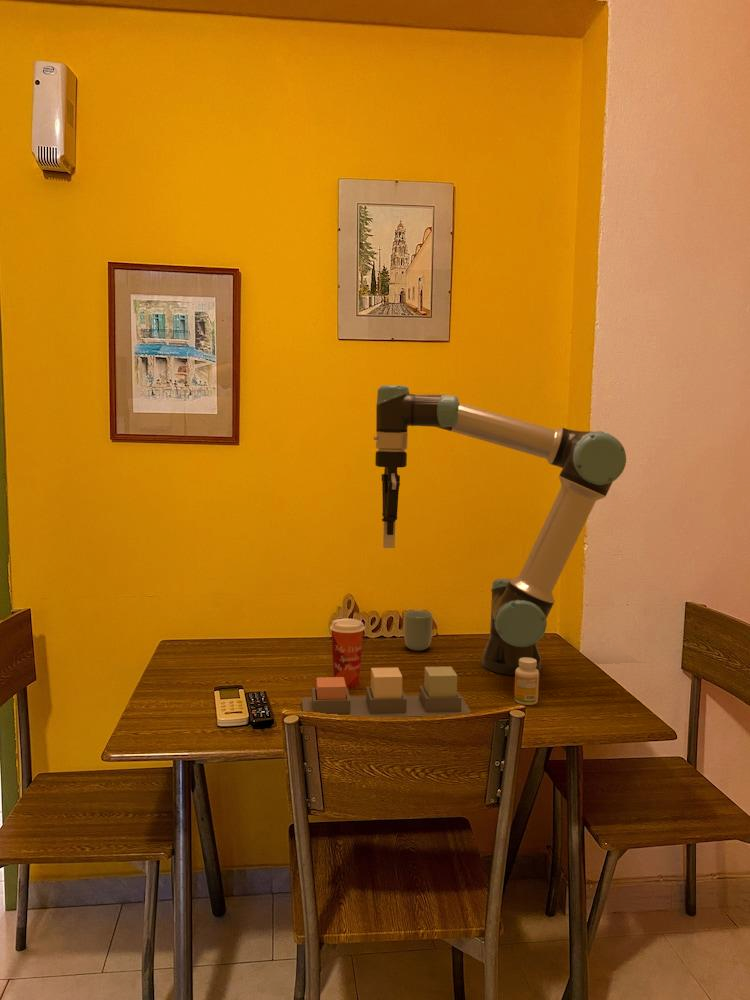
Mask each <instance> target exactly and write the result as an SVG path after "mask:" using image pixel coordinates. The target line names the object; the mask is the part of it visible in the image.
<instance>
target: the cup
mask: <svg viewBox="0 0 750 1000" xmlns="http://www.w3.org/2000/svg"><path fill="white" fill-rule="evenodd" d="M433 617H434V616H433V613H432V612H430V611H426V610H418V609H417V610H415V609H414V610H412V609H411V610H407V611H406V612H405V613H404V621H403V624H404V626H403V636H404V637H403V638H404V643H405V645H406V647H407V648H408V649H409V650H411V651H418V652H420V651H425V650H427V649H428V648H429V647H430V645H431V642H432V635H433V619H434V618H433Z"/></svg>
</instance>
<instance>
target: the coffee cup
mask: <svg viewBox="0 0 750 1000" xmlns="http://www.w3.org/2000/svg"><path fill="white" fill-rule="evenodd" d="M329 628H330V631H331V647H332V648H331V649H332V650H331V654H332V655H331V656H332V669H333V670H332V671H333V677H344V680H345V684H346V687H347V688H353V687H357V686H358V685H359V683H360V674H361V673H360V672H361V660H362V648H363V636H364V630H365V629H366V627H365V625H364V623H363V621H361V620H359V619H355V618H347V617H346V618H337V619H335V620H332V623H331V626H330V627H329Z"/></svg>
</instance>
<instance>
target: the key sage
mask: <svg viewBox="0 0 750 1000" xmlns="http://www.w3.org/2000/svg"><path fill="white" fill-rule="evenodd" d="M423 686H424V690H425V691H426V693H427V695H428V697H457V691H458V674H457V673H456V671H455V670H454V669H453V667H452V666H424V681H423Z"/></svg>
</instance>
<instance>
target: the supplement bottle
mask: <svg viewBox="0 0 750 1000" xmlns="http://www.w3.org/2000/svg"><path fill="white" fill-rule="evenodd" d="M519 666H520V667H518V668H517V669H516V671H515V675H514V690H513V691H514V694H513V695H514V696H513V699H514V701H515V702H516V703H518V704H520V705H524V706H533V705H536V704H538V701H539V690H540V689H539V687H540V671H538V670H537V669H536V666H537V660H536V659H533V658H529V657H523V658H520V659H519Z"/></svg>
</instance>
